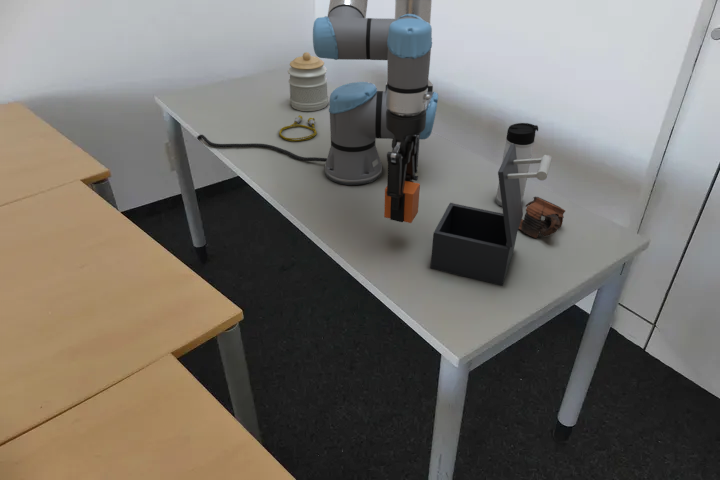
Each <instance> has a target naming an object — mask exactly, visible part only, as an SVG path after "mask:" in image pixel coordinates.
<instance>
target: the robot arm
mask: <svg viewBox="0 0 720 480" xmlns="http://www.w3.org/2000/svg"><path fill="white" fill-rule="evenodd" d="M368 2H369V1H368V0H329V5H328V10H327V15H325V16H322V17H317V18H316V19H314V21H313V27H312V45H313V51H314V54H315V57H318V58H319V59H327V60H334V61H337V60H343V61H344V60H346V61H348V60H351V61H352V60H353V61H354V60H357V61H358V60H359V61H360V60H363V61H365V60H366V61H367V60H368V61H387V81H386V83H385V90H378V88H377V86H376V85H375V84H374V83H372V82H368V81H355V82H349V83H346V84H343V85H340V86H338V87H336V88H334V89H333V90H332V91H331V93H330V94H329V95H330V96H329V108H328V112H329V126H330V127H329V129H330V130H329V131H330V146H329V150H328V154H327V157H316V156H315V157H313V156H312V157H311V156H310V157H308V156H307V157H306V156H300V155H297V154H295V153H294V152H291V151H289V150H286V149H283V148H281V147H278V146H275V145H273V144H272V145H271V144H266V143H257V142H256V143H215V142H211V141H210V140H209V139H208V138H207V137H206V136H205V135H204V134H199V135H198V136H197V137H196V139H197V140H201V139H202V140H203V142H204V143H206V144H207V145H208V146H211V147H214V148H264V149H270V150H274V151H277V152H279V153H282V154H284V155H286V156H289V157H291V158H293V159H295V160H298V161H302V162H323V163H324V162H325V165H324V174H325V176H326V177H327V179H328V180H330V181H332V182H334V183H337V184H339V185H346V186H362V185H367V184H369V183H372V182H374V181H377V180H378V179H379V178H380V177H381V176H382V174H383V164H382V161H381V157H380V154H379V151H378V149H377V146H376V145H377V144H376V139H382V140H383V139H384V140H385V139H386V140H392V141H391V149H392V150H391V151H388V152H387V153H386V161H387V178H386V179H387V180H386V181H387V183H386V187H387V196H390V197H391V214H390V218H389V219H390V221H394V222H399V223H403V221H404V206H405V194H404V193H403V192H404V184H405V181H408V182H413V183H414V182H415V181H416V182H417V181H418V179H419V176H418V175H416V174H417V173H418V167H419V155H420V153H419V152H420V141H421V140H426V139H428V138H429V137H430V136H431V134H432V132H433V128H434V124H435V120H436V115H437V114H436V113H437V109H438V101H439V93H438V92H436V91H433V90H434V83H432V81H431V80H430V79H429V76H430V67H431V66H430V65H431V54H432V47H433V34H432V33H433V28H432V25H431V18H432V3H433V0H394V18H377V17H375V18H374V17H367V11H368Z"/></svg>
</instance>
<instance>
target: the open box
mask: <svg viewBox="0 0 720 480" xmlns="http://www.w3.org/2000/svg"><path fill="white" fill-rule="evenodd" d="M435 227H436V228H435V229H434V231H433V235H432V246H431V247H432V248H431V256H430V258H431V259H430V269H432V270H437V271H441V272H445V273H449V274H453V275H457V276H461V277H465V278H469V279H473V280H477V281H481V282H485V283H489V284H494V285H498V286H502V287H503V286H504V283H505V280H506V276H507V273H508V270H509V267H510V263H511V260H512V257H513V255H514V250H515V245H516V242H517V235H518V234H517V235H516V238H515V241H514V244H513V247H507V239H506V231H505V223H504V216H503V212H498V211H492V210H488V209H483V208H477V207H474V206H473V207H472V206H469V205H463V204H459V203H454V202H449V204H448V205H447V207H446V209H445V211H444V213H443V215H442V216H441V218H440V220H439V222H438V223H437V226H435Z"/></svg>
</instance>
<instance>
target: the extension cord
mask: <svg viewBox="0 0 720 480" xmlns="http://www.w3.org/2000/svg"><path fill="white" fill-rule="evenodd" d="M302 120H303V116H302V115H298V116H297V117H295V119H294V122H293V123H292V124H290V125H286V126H283V127H281V128H280V130H279V131H278V136H279V137H280V138H281V139H282V140H285V141H288V142H304V141H308V140H311V139H313V138H315V136H316V135H317V133H318V132H317V130H316V127H315V124H316V121H315V120H316V119H315V118H314V117H309V118H307V123H308V124H309V126H308V125H304V124H300V123H302ZM292 128H293V129H294V128H304V129H308V130H311V131H313V133H312V134H310V135H306V136H302V137H287V136H284V135H282V132H283V131H284V130H287V129H292Z"/></svg>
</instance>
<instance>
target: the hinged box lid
mask: <svg viewBox="0 0 720 480" xmlns="http://www.w3.org/2000/svg"><path fill="white" fill-rule="evenodd" d="M502 160H503V159H502ZM552 162H553V157H552V156H551V155H549V154H544V155H543V156H542V157H538V158H531V159H520V160H517V155H516V146H515V144H510V146H509V149H508V151H507V153H506V155H505V158H504V160H503V162H502V161H501V165H500V167H499V168H498V171H497V177H498V185H500V192H501V200H502V206H501V207H502V208H501V209H502V213H503V216H504V223H505V231H506V239H507V247H513V244H514V241H515V238H516V239H517V236H516V235H518V232H519V230H520V229H519V225H520V222H521V219H523V216H524V211H523V201H521V192H520V183H519V178H527V179H534V178H536V179H537V180H539V181H545V180H546V179H547V178H548V175H549V172H550V168H551V165H552ZM517 164H530V165H533V164H539V165H538V169H537V172H528V173H518V165H517ZM515 242H516V241H515Z"/></svg>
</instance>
